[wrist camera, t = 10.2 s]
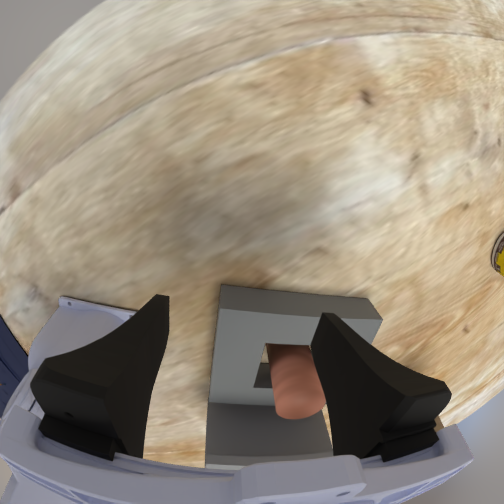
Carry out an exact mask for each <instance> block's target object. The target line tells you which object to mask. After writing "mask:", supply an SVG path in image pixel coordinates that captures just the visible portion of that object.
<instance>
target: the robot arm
mask: <svg viewBox="0 0 504 504" xmlns="http://www.w3.org/2000/svg"><path fill="white" fill-rule="evenodd" d="M59 305H60V306H59V307H58V309H57V310H56V311H55V312H54V314H53V315H52V316H51V318H50V319H49V320H48V321H47V323H46V324H45V325H44V327H43V328H42V329H41V331H40V332H39V333H38V335H37V336H36V337H35V339H34V341H33V343H32V345H31V348H30V351H29V357H28V367H29V372H28V373H27V374H26V375H25V377H24V378H23V379H22V381H21V382H20V384H19V385H18V387H17V388H16V390H15V391H14V393H13V395H12V396H11V398H10V400H9V402H8V404H7V406H6V408H5V410H4V412H3V416H2V418H1V420H0V457H1V458H2V459H3V460H4V461H6V462H7V464H8V466H9V467H10V469H11V471H12V476H11V478H10V480H9V482H8V484H7V486H6V489H5V491H4V493H3V496H2V498H1V500H0V504H399V503H402V502H404V501H407V500H409V499H411V498H413V497H415V496H418V495H420V494H422V493H424V492H426V491H428V490H430V489H432V488H434V487H436V486H438V485H440V484H442V483H443V482H445V481H446V480H448V479H449V478H451V477H452V476H453V475H455V474H456V473H457V472H459V471H460V470H461V469H463V468H464V467H465V466H467V465H468V464H469V463H470V462H471V461H473V460H474V457H473V454H472V453H471V451H470V449H469V447H468V445H467V443H466V441H465V440H464V438H463V436H462V434H461V432H460V431H459V429H458V427H457V425H456V424H453V425H450V426H448V427H445V428H442V429H440V430H439V431H437V432H435V430H434V428H435V427H436V425H437V424H436V422H435V420H434V419H435V418H436V417H437V416H438V415H439V414H440V413H441V412H442V410H443V409H444V408H445V407H446V406H447V404H448V403H449V401H450V399H451V395H452V393H451V391H450V390H449V388H448V387H447V385H446V384H445V382H444V381H441V380H438V379H434V378H431V377H428V376H425V375H423V374H420V373H418V372H415V371H413V370H411V369H409V368H407V367H405V366H403V365H401V364H399V363H397V362H396V361H394V360H392V359H391V358H389V357H388V356H386V355H384V354H383V353H381V352H380V351H379V350H377V349H376V348H375V347H373V346H372V345H371V344H370V343H368V342H367V341H366V340H365V339H363V338H362V337H361V336H360V335H359V334H358V333H356V332H355V331H354V330H353V329H352V328H351V327H350V326H349V325H347V324H346V323H345V322H344V321H343V320H342V319H341V318H339V317H338V316H337V315H336V314H334V313H326V312H322V314H321V317H320V320H319V323H318V326H317V328H316V331H315V334H314V336H313V339H312V342H311V350H312V356H313V361H314V365H315V368H316V371H317V374H318V377H319V380H320V383H321V386H322V389H323V392H324V395H325V399H326V403H327V408H328V413H329V419H330V426H331V434H332V444H333V457H325V458H317V459H307V460H295V461H277V462H265V463H256V464H252V465H249V466H245V467H243V468H241V469H240V470H222V469H208V468H197V467H189V466H181V465H174V464H168V463H162V462H156V461H151V460H146V459H143V449H144V440H145V431H146V424H147V417H148V411H149V405H150V399H151V394H152V390H153V386H154V383H155V380H156V377H157V374H158V371H159V368H160V365H161V362H162V358H163V355H164V352H165V349H166V345H167V340H168V335H169V296H165V295H158V294H156V295H155V296H154V297H153V298H152V299H151V300H150V301H148V302H147V303H146V304H145V305H144V306H143V307H142V308H141V309H140V310H139V311H138V312H135V311H130V310H124V309H119V308H114V307H109V306H104V305H99V304H94V303H90V302H85V301H81V300H76V299H72V298H68V297H63V296H61V297H60V298H59ZM131 315H132V317H131Z"/></svg>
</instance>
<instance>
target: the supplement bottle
mask: <svg viewBox="0 0 504 504" xmlns="http://www.w3.org/2000/svg"><path fill="white" fill-rule="evenodd" d="M492 265H493V268H494V269H495V270H496V271H497V272H498V273H500V274H501V275H502V276H504V233H503V234H502V235H501V236H500V237H499V239H498V240H497V242H496V244H495V247H494V250H493V254H492Z"/></svg>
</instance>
